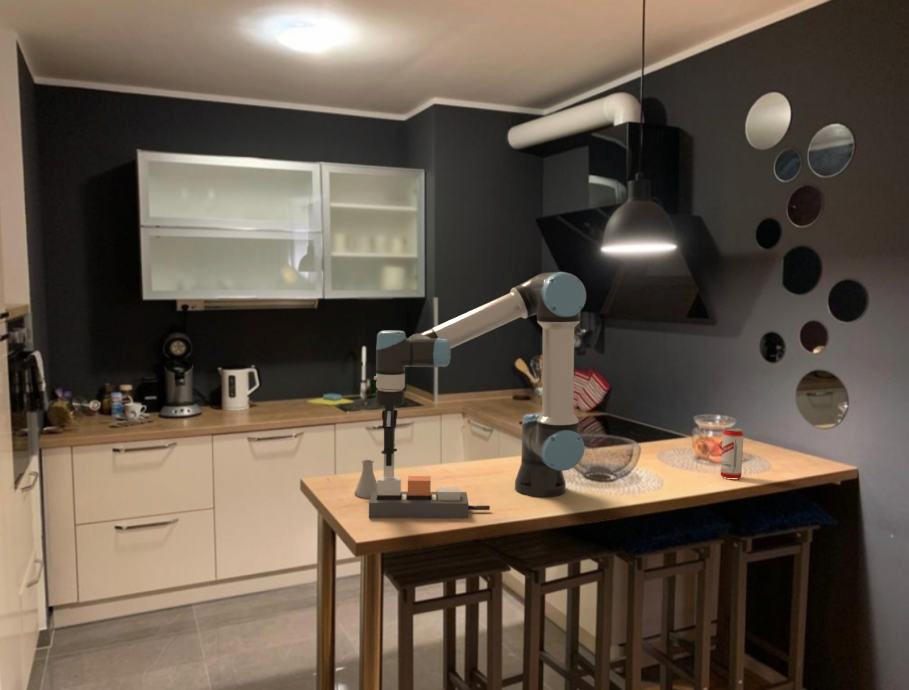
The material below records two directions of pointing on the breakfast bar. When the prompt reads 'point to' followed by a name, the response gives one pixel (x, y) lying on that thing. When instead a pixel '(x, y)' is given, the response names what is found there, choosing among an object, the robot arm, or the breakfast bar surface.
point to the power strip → (419, 506)
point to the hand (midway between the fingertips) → (388, 476)
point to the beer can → (732, 453)
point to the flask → (366, 480)
